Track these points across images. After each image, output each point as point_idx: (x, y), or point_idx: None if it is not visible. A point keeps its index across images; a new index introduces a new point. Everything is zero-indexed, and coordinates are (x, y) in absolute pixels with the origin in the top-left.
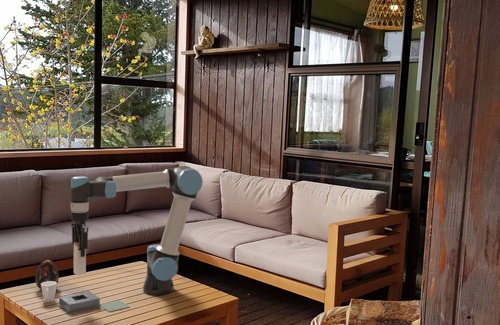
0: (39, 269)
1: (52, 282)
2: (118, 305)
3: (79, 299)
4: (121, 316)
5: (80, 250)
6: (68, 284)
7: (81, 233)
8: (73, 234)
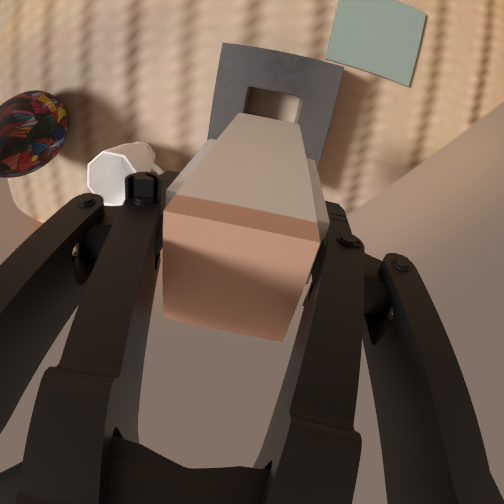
0: (8, 177)
1: (99, 158)
2: (389, 24)
3: (246, 99)
4: (461, 93)
5: (312, 268)
6: (47, 44)
7: (389, 498)
8: (44, 349)
